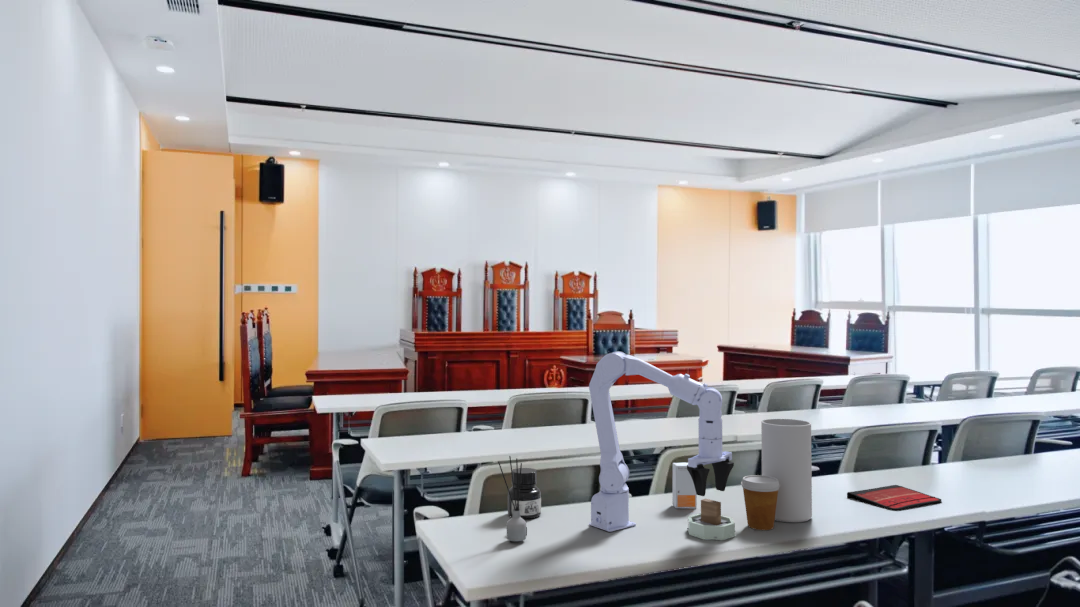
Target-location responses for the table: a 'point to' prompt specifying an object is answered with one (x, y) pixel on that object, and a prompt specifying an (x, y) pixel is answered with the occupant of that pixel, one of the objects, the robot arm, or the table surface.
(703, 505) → the wooden block
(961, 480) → the table surface
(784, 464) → the cylinder vase
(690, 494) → the skincare box
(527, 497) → the ink bottle
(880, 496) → the binder
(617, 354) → the robot arm
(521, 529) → the reed diffuser
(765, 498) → the disposable coffee cup
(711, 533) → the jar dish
